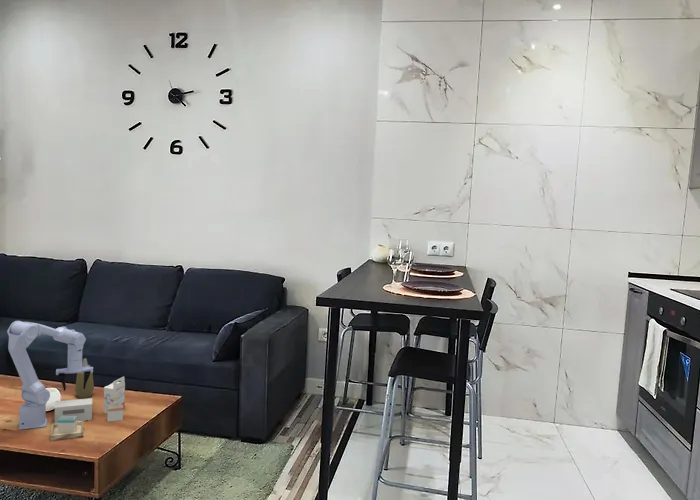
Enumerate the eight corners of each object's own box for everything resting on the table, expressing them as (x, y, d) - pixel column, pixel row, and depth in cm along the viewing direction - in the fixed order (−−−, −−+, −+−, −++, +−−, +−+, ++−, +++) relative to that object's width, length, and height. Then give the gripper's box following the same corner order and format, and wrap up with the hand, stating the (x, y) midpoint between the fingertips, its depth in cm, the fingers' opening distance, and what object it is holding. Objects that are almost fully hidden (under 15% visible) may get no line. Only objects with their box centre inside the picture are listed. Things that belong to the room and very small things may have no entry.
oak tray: (50, 440, 216) (50, 435, 216) (51, 428, 227) (51, 424, 227) (83, 437, 221) (83, 432, 221) (83, 425, 232) (83, 420, 231)
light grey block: (107, 421, 237) (107, 409, 236) (107, 418, 240) (107, 405, 240) (123, 420, 239) (123, 407, 239) (122, 416, 243) (122, 404, 242)
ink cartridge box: (114, 406, 253) (115, 374, 252) (124, 407, 252) (125, 375, 251) (103, 413, 245) (103, 380, 244) (113, 414, 244) (113, 382, 243)
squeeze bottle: (97, 395, 264) (98, 358, 262) (81, 400, 257) (82, 362, 255) (87, 391, 268) (87, 355, 266) (71, 396, 261) (71, 358, 259)
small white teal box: (57, 433, 221) (57, 420, 221) (60, 429, 225) (61, 416, 225) (74, 433, 222) (74, 420, 222) (77, 429, 226) (77, 416, 226)
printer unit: (54, 424, 231) (54, 407, 230) (55, 417, 238) (55, 401, 237) (91, 420, 237) (92, 404, 236) (91, 413, 244) (92, 397, 243)
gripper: (93, 355, 251) (92, 384, 252) (56, 357, 245) (56, 387, 246) (93, 359, 244) (92, 390, 246) (55, 362, 238) (55, 393, 240)
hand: (74, 389), depth 245 cm, fingers open, 7 cm apart
